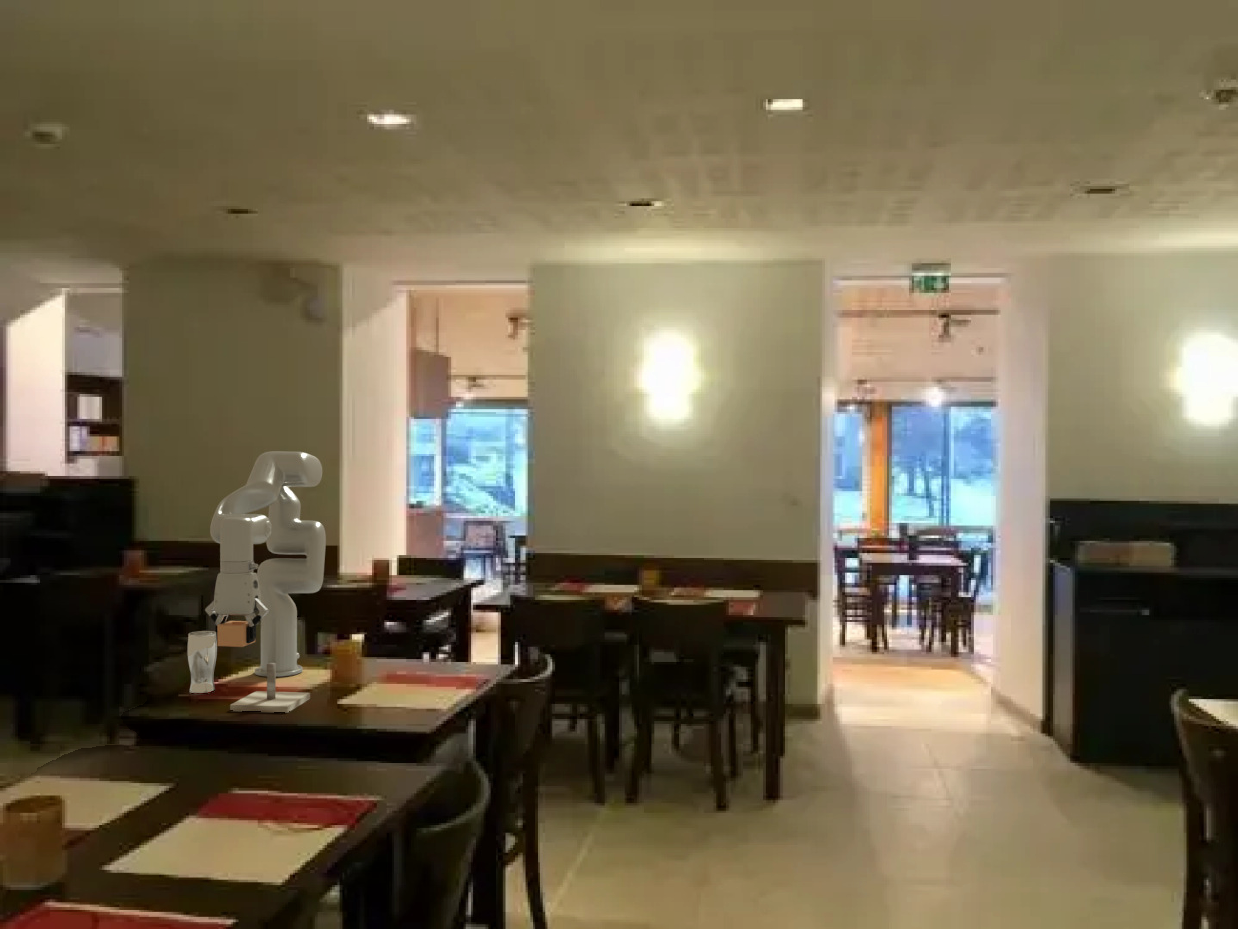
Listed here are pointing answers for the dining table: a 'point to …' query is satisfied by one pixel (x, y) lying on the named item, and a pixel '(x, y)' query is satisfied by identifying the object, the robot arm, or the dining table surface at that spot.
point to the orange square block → (232, 634)
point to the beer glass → (202, 660)
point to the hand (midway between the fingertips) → (236, 641)
